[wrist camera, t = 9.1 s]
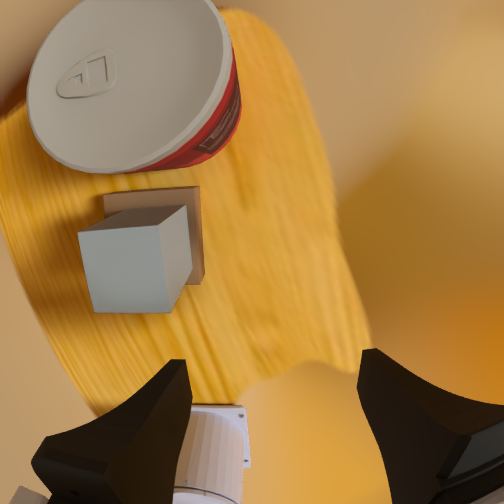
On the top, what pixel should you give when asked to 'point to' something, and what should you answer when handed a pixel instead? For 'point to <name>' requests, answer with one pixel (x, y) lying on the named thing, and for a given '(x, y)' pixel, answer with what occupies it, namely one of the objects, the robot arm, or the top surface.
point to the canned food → (135, 86)
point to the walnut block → (166, 198)
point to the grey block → (137, 260)
